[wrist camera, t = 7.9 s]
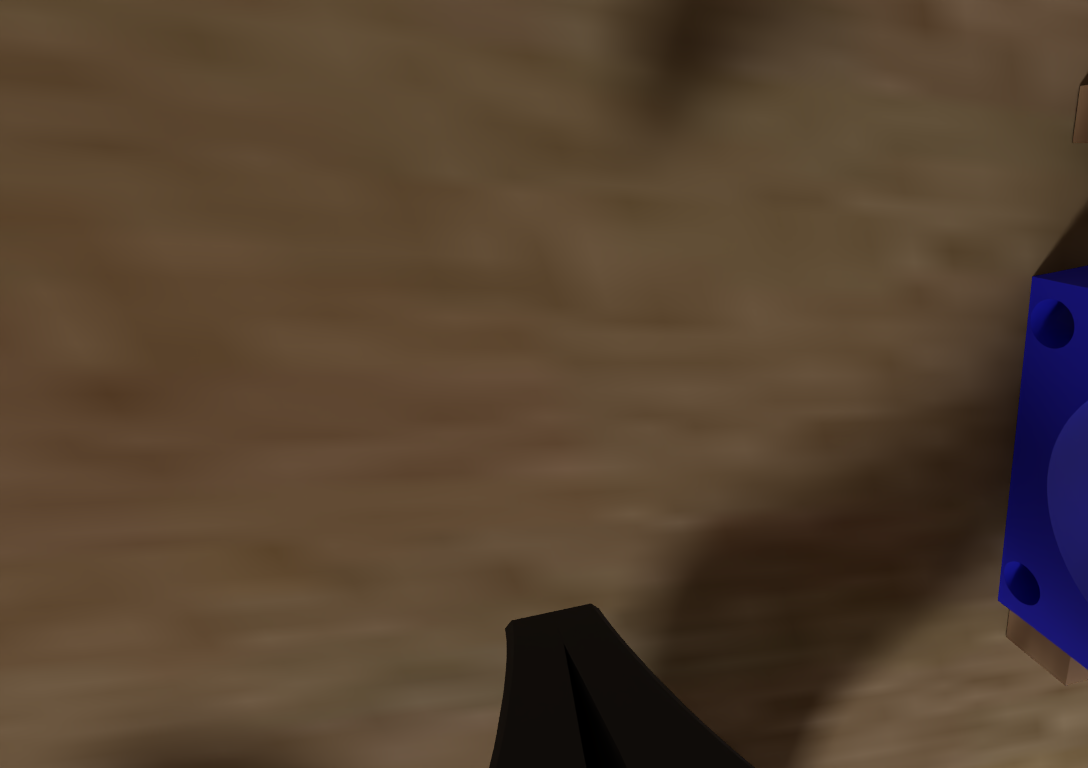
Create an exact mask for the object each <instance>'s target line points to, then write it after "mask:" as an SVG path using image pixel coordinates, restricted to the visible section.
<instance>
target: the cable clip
mask: <svg viewBox="0 0 1088 768" xmlns="http://www.w3.org/2000/svg"><path fill="white" fill-rule="evenodd" d="M998 601H999V602H1001V603H1002V604H1003V605H1005V606H1006V607H1007V608H1009V609H1010V610H1011V611H1012V612H1014V613H1015V614H1016V615H1018V616H1019V617H1020V618H1021V619H1023V620H1024V621H1025V622H1027V623H1028V624H1029V625H1030V626H1032V627H1033V628H1034V629H1036V630H1037V631H1038V632H1039V633H1041V634H1042V635H1043V636H1045V637H1046V638H1047V639H1049V640H1050V641H1051V642H1052V643H1054V644H1055V645H1056V646H1058V647H1059V648H1060V649H1061V650H1063V651H1064V652H1065V653H1067V654H1068V655H1069V656H1070V657H1072V658H1073V659H1074V660H1076V661H1077V662H1078V663H1079V664H1081V665H1082V666H1083V667H1085V668H1086V669H1087V670H1088V266H1083V267H1078V268H1073V269H1068V270H1063V271H1058V272H1053V273H1048V274H1043V275H1038V276H1032V285H1031V294H1030V304H1029V313H1028V323H1027V332H1026V341H1025V351H1024V360H1023V370H1022V379H1021V388H1020V398H1019V407H1018V417H1017V426H1016V435H1015V445H1014V454H1013V463H1012V473H1011V482H1010V492H1009V501H1008V510H1007V520H1006V529H1005V539H1004V548H1003V557H1002V567H1001V576H1000V586H999V595H998Z"/></svg>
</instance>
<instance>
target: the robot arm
mask: <svg viewBox="0 0 1088 768" xmlns="http://www.w3.org/2000/svg"><path fill="white" fill-rule="evenodd" d="M505 631H506V639H507V661H506V674H505V684H504V693H503V699H502V705H501V711H500V717H499V723H498V729H497V735H496V740H495V745H494V750H493V754H492V758H491V762H490V767H489V768H755V767H753V766H752V765H751V764H750V763H749V762H747V761H746V760H745V759H744V758H743V757H741V756H740V755H739V754H738V753H737V752H736V751H734V750H733V749H732V748H731V747H730V746H729V745H727V744H726V743H725V742H724V741H723V740H722V739H721V738H720V737H719V736H717V735H716V734H715V733H714V732H713V731H712V730H711V729H710V728H709V727H707V726H706V725H705V724H704V723H703V722H702V721H701V720H700V719H699V718H698V717H697V716H696V715H694V714H693V713H692V712H691V711H690V710H689V709H688V708H687V707H686V706H685V705H684V704H683V703H682V702H681V701H680V700H679V699H678V698H677V697H676V696H675V695H674V694H673V693H672V692H671V691H670V690H669V689H668V688H667V687H666V686H665V685H664V684H663V683H662V682H661V681H660V680H659V679H658V678H657V677H656V676H655V675H654V674H653V672H652V671H651V670H650V669H649V668H648V667H647V666H646V665H645V664H644V663H643V662H642V661H641V659H640V658H639V657H638V656H637V655H636V654H635V653H634V652H633V650H632V649H631V648H630V647H629V646H628V645H627V644H626V642H625V641H624V640H623V639H622V638H621V637H620V635H619V634H618V633H617V632H616V630H615V629H614V628H613V627H612V626H611V624H610V623H609V622H608V620H607V619H606V618H605V616H604V615H603V614H602V612H601V611H600V610H599V608H597V607H596V606H594V605H593V604H587V605H582V606H578V607H573V608H568V609H564V610H559V611H554V612H549V613H545V614H540V615H535V616H531V617H526V618H521V619H517V620H512V621H511V622H510V623H509V624H508V626H507V627H506V628H505Z"/></svg>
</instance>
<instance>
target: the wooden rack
mask: <svg viewBox="0 0 1088 768" xmlns="http://www.w3.org/2000/svg"><path fill="white" fill-rule="evenodd" d="M1073 143H1088V85H1083V86H1080V91H1079V99H1078V106H1077V113H1076V121H1075V128H1074V136H1073ZM1006 637H1007V638H1008V639H1009V640H1011V641H1012V642H1013V643H1014V644H1015V645H1017V646H1018V647H1019V648H1020V649H1021V650H1023V651H1024V652H1025V653H1026V654H1028V655H1029V656H1030V657H1031V658H1032V659H1034V660H1035V661H1036V662H1037V663H1038V664H1040V665H1041V666H1042V667H1043V668H1044V669H1046V670H1047V671H1048V672H1049V673H1051V674H1052V675H1053V676H1054V677H1055V678H1057V679H1058V680H1059V681H1060V682H1061V683H1063V684H1064V685H1065V686H1067V685H1070V684H1074V683H1078V682H1082V681H1086V680H1088V670H1087V669H1086V668H1085V667H1083V666H1082V665H1081V664H1079V663H1078V662H1077V661H1076V660H1074V659H1073V658H1072V657H1070V656H1069V655H1068V654H1067V653H1065V652H1064V651H1063V650H1061V649H1060V648H1059V647H1058V646H1056V645H1055V644H1054V643H1052V642H1051V641H1050V640H1049V639H1047V638H1046V637H1045V636H1043V635H1042V634H1041V633H1039V632H1038V631H1037V630H1036V629H1034V628H1033V627H1032V626H1030V625H1029V624H1028V623H1027V622H1025V621H1024V620H1023V619H1021V618H1020V617H1019V616H1018V615H1016V614H1015V613H1014V612H1012V611H1011V610H1010V611H1009V618H1008V626H1007V633H1006Z"/></svg>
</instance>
